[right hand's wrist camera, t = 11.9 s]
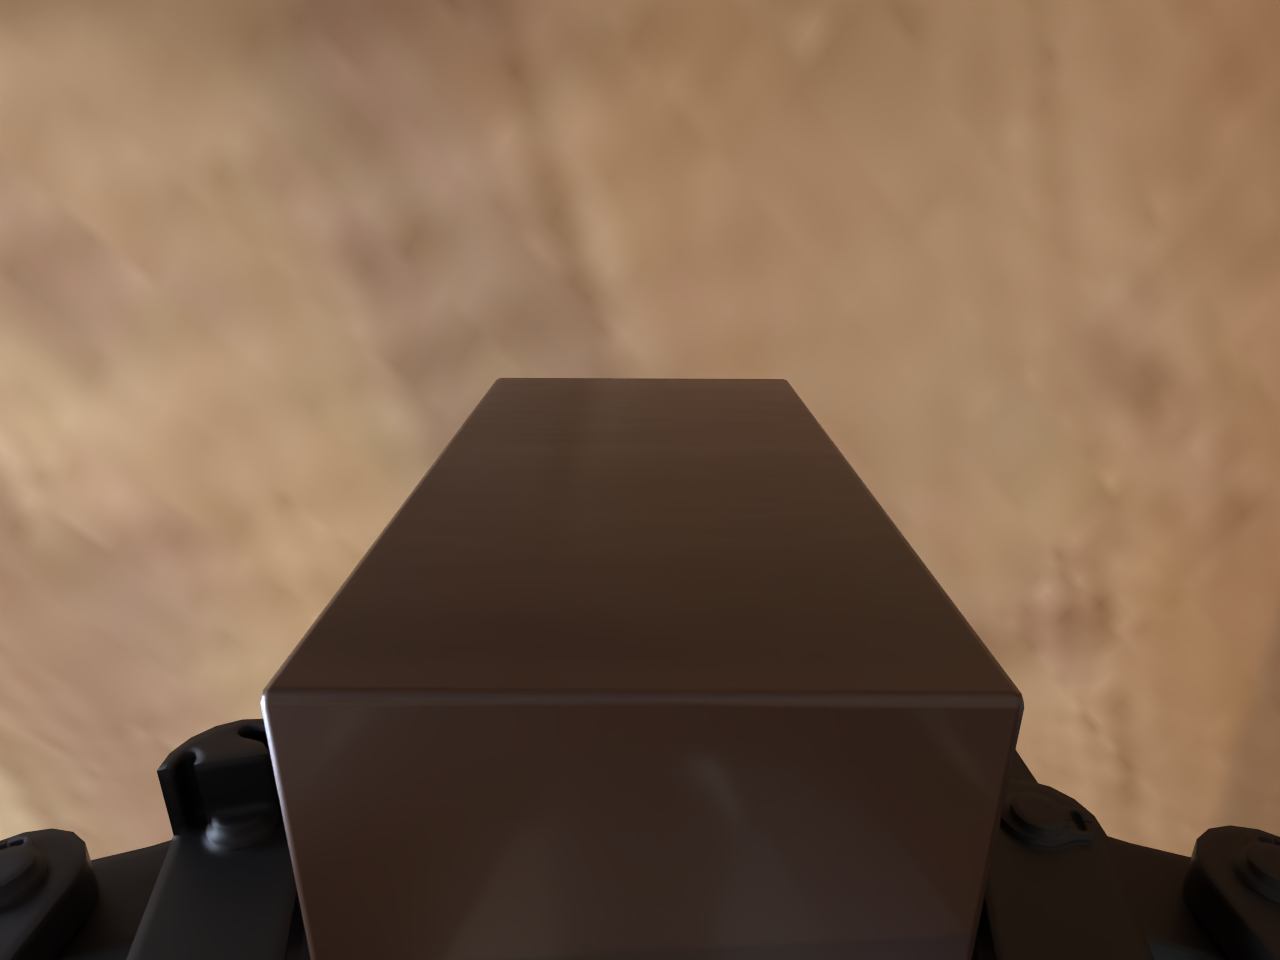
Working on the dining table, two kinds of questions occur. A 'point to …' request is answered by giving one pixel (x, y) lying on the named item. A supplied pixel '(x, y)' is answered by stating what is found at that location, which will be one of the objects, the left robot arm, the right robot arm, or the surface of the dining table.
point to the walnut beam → (641, 700)
